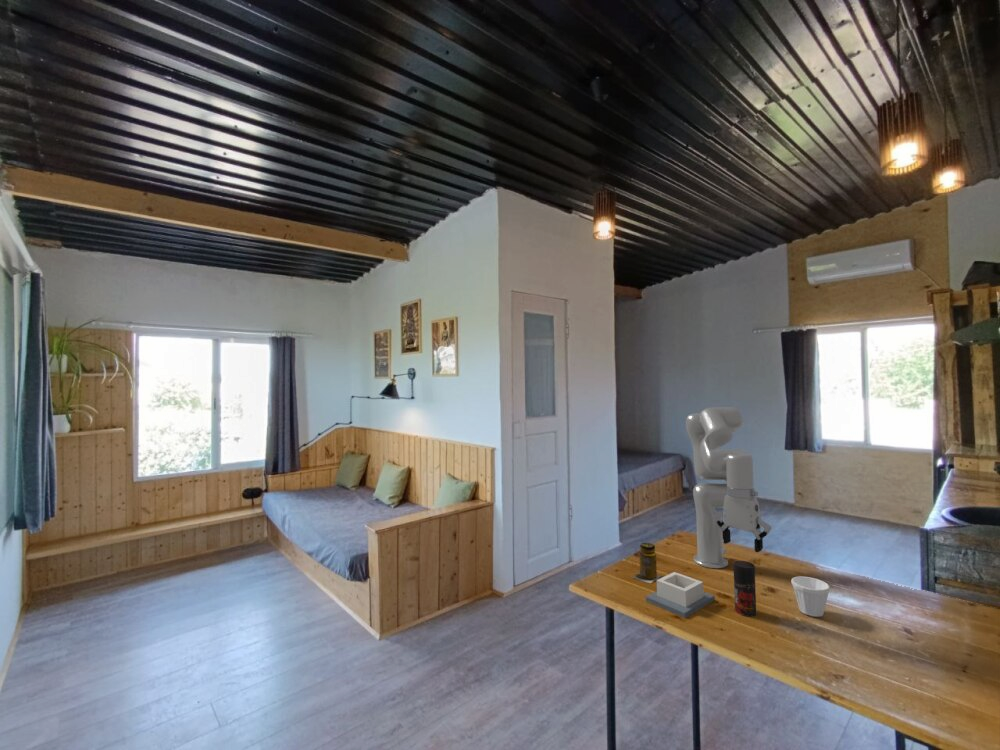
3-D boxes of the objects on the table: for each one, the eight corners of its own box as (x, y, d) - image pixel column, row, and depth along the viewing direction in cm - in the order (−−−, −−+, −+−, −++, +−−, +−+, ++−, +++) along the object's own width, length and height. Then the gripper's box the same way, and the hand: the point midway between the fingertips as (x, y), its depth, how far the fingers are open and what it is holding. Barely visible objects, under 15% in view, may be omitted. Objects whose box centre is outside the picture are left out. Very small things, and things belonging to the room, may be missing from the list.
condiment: (661, 576, 170) (660, 544, 170) (650, 584, 164) (649, 550, 164) (643, 571, 175) (642, 540, 175) (632, 578, 169) (631, 545, 169)
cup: (837, 622, 135) (836, 591, 135) (800, 619, 137) (799, 589, 137) (821, 606, 145) (820, 577, 145) (786, 603, 147) (785, 575, 147)
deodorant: (730, 609, 144) (729, 562, 145) (744, 605, 146) (742, 559, 147) (746, 618, 139) (744, 569, 139) (760, 614, 141) (759, 566, 141)
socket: (676, 585, 162) (675, 567, 162) (714, 600, 151) (713, 580, 151) (646, 601, 151) (645, 581, 151) (684, 617, 140) (683, 596, 140)
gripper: (775, 495, 139) (777, 551, 138) (719, 486, 153) (721, 537, 152) (763, 499, 134) (765, 557, 134) (707, 489, 148) (709, 542, 148)
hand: (742, 546), depth 143 cm, fingers open, 9 cm apart
